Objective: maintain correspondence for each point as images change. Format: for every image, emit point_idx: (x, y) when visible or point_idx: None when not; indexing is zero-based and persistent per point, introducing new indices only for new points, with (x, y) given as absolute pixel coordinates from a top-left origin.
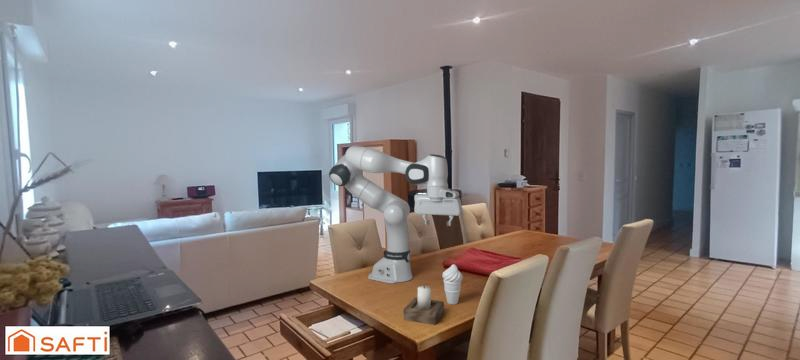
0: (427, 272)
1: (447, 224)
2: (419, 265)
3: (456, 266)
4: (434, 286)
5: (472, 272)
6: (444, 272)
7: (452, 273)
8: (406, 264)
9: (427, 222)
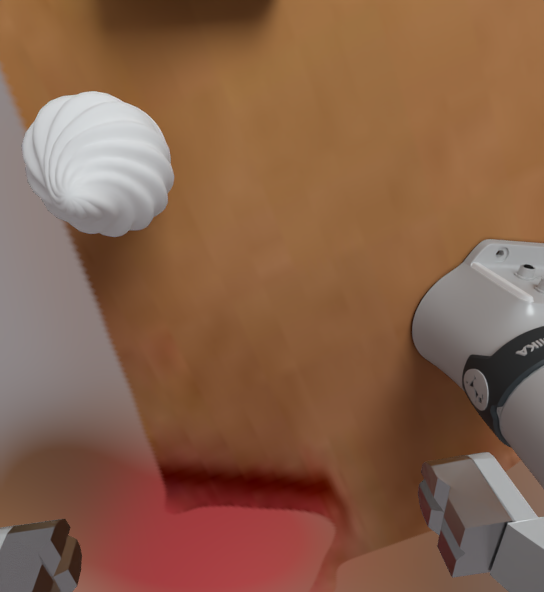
0: (371, 412)
1: (30, 543)
2: (423, 459)
3: (56, 204)
4: (291, 291)
5: (207, 477)
6: (140, 143)
7: (63, 126)
8: (467, 346)
9: (465, 493)
